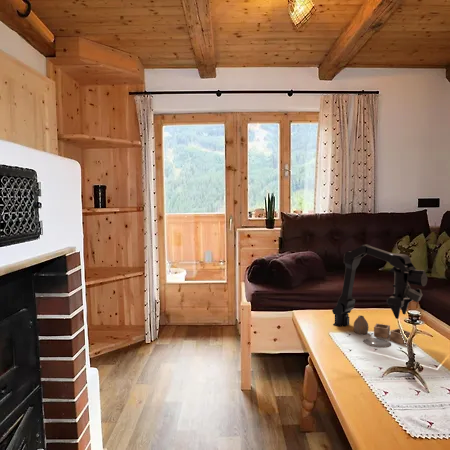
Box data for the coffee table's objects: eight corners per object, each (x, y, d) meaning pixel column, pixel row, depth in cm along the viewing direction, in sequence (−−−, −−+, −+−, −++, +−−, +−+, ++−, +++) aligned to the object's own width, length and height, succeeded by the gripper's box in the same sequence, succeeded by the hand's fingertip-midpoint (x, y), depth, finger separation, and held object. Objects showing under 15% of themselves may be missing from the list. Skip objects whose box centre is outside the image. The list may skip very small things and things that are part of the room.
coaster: (358, 344, 173) (358, 342, 172) (369, 337, 181) (369, 336, 181) (385, 351, 164) (385, 349, 164) (395, 343, 173) (395, 342, 173)
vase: (369, 336, 182) (369, 318, 182) (354, 335, 183) (354, 317, 183) (367, 331, 189) (367, 314, 188) (352, 331, 190) (352, 313, 190)
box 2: (390, 341, 176) (390, 330, 175) (398, 339, 179) (398, 328, 178) (402, 345, 170) (402, 334, 170) (410, 343, 174) (410, 332, 173)
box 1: (373, 337, 181) (374, 326, 181) (376, 333, 186) (376, 323, 186) (387, 339, 178) (387, 329, 178) (389, 335, 183) (389, 325, 183)
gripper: (413, 288, 161) (412, 325, 162) (426, 281, 174) (426, 315, 175) (386, 284, 168) (386, 319, 169) (401, 278, 182) (400, 310, 183)
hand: (400, 316), depth 174 cm, fingers open, 9 cm apart
